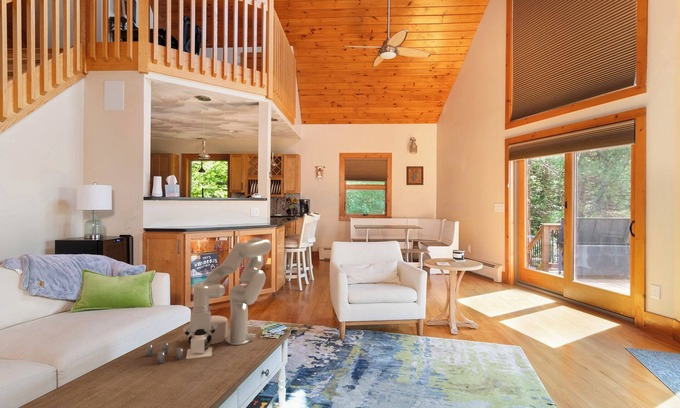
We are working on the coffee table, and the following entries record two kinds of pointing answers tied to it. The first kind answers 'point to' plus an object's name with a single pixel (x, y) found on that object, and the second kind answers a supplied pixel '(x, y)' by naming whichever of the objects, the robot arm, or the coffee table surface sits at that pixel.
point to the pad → (199, 354)
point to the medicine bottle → (199, 342)
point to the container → (218, 329)
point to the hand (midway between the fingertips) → (200, 343)
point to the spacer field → (163, 352)
